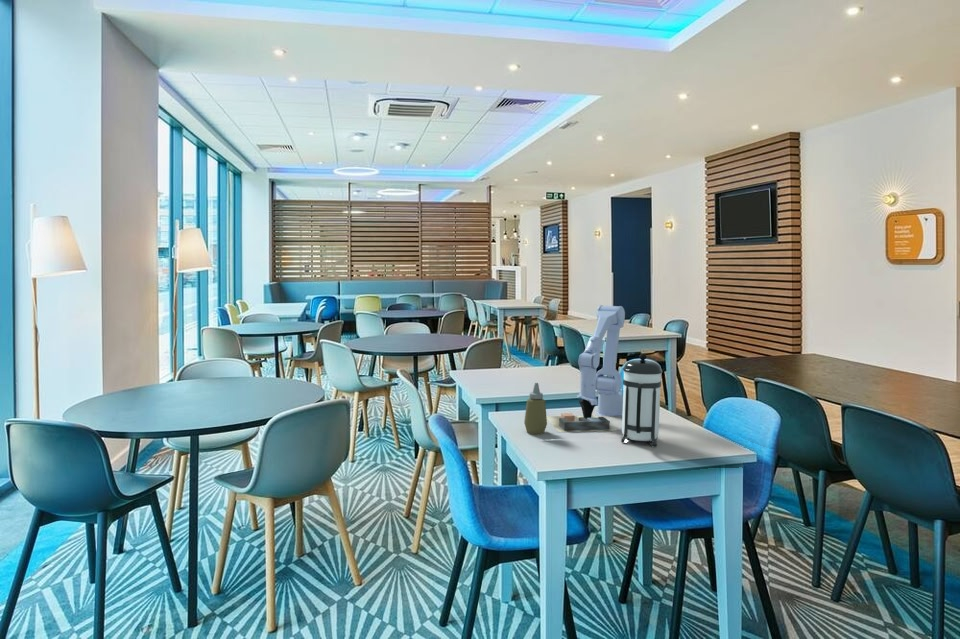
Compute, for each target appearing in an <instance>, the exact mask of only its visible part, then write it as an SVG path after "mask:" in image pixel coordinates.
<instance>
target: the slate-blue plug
mask: <svg viewBox="0 0 960 639" xmlns="http://www.w3.org/2000/svg"><path fill="white" fill-rule="evenodd" d="M587 420H588V421H597V420H600V419H599V418H587Z"/></svg>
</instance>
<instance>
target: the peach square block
mask: <svg viewBox="0 0 960 639" xmlns="http://www.w3.org/2000/svg"><path fill="white" fill-rule="evenodd" d="M560 416H561V418H565V419H567V420H568V421H575V416H576V415H574V414H573V413H571V412H569V413H561V414H560Z"/></svg>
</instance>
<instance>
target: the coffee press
mask: <svg viewBox="0 0 960 639" xmlns="http://www.w3.org/2000/svg"><path fill="white" fill-rule="evenodd" d="M646 358H647V354H645V353H640V355H639V359H635V360H629V361H627V362H626V363H625V364H624V366H623V367H622V372H623V378H622V386H623V389H622V390H623V393H622V396H623V414H622V415H621V417H622V418H621V420H622V421H621V422H622V423H621V433H622V435H623V436H622V438H621V440H620V442H621V443H623V444H628V442H629V441H630V440H632V441H638V442H639V441H640V442H648V443H649V445H650V447H652V446H654V447H657V444H658V443H657V441H656V440H658V439H659V431H660V430H659V429H660V411H661V410H660V409H661V408H660V407H661V406H660V405H661V387H662V378H661V377H662V373H663V369H662V368H661V365H660V364H659V363H658V362H655V361H651V360H646Z"/></svg>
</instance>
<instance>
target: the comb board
mask: <svg viewBox="0 0 960 639" xmlns="http://www.w3.org/2000/svg"><path fill="white" fill-rule="evenodd" d="M574 416H575V421H568V420H567V419H565V418H561V415H557V416H556V415H555V416H554V415H553V416H550V415H549V416H548V415H547V416H546V417H547V423H549V424H550V425H551V427H553V428H554V429H555V430H557V431H558V432H559V433H575V432H578V433H579V432H581V433H582V432H607V431H608V432H609V431H611V432H613V431H614V432H615V431H618V430H617V429H616V428H614V427H613V426H612V425H610V424H611V421H610V420H608V419H607V418H606V417H605V416H597V415H596V414H595V415H593V414H592V416H591V418H599V419H600V420H597V421H588V420H587V419H586V418H584V417H583V415H574Z"/></svg>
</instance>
